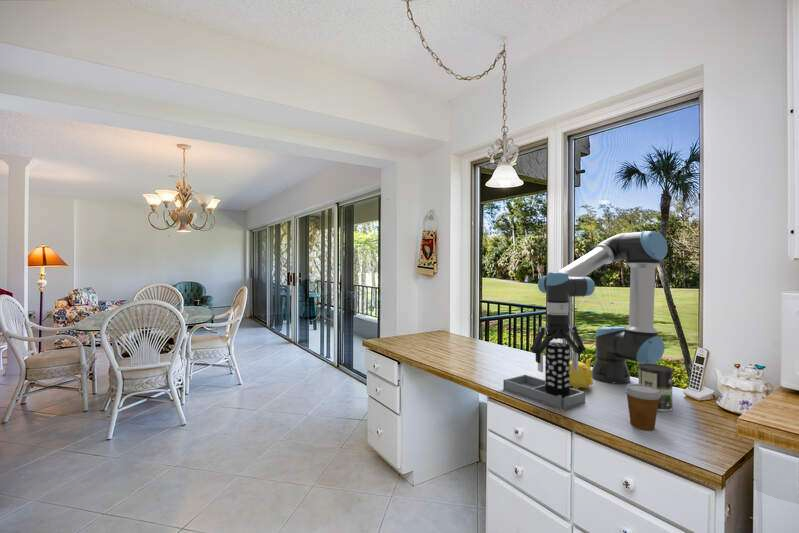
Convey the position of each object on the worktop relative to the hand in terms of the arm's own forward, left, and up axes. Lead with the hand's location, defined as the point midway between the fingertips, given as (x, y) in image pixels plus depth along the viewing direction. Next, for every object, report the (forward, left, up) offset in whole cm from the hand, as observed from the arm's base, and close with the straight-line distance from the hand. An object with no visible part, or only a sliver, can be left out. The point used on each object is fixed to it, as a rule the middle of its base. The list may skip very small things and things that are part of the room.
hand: (557, 370), depth 140 cm
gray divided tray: (+5, -4, -11) cm, 13 cm away
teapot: (-11, -19, -12) cm, 25 cm away
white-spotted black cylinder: (0, 0, -11) cm, 11 cm away
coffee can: (-33, -2, -12) cm, 35 cm away
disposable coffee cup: (-21, +18, -12) cm, 30 cm away
